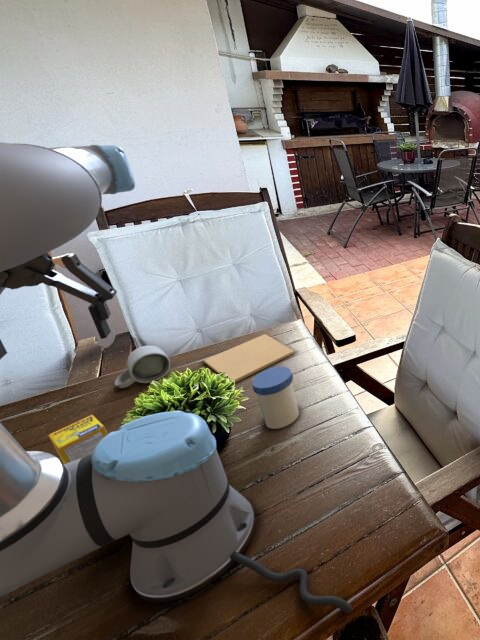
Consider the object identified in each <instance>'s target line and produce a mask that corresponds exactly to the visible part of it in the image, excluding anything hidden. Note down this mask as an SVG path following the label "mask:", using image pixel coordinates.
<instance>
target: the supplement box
mask: <svg viewBox="0 0 480 640" xmlns="http://www.w3.org/2000/svg"><path fill="white" fill-rule="evenodd" d="M108 434H109V433H108V431H107V428H106V427H105V426H104V424H103V423H101V422H100V421H99V420H98V419H97V417H96V416H95V415H93V414H90V415H88V416H86V417H84V418H82V419H79V420H78V421H77V420H76V421H75V422H73V423H71V424H69V425H66V426H64V427H63V428H59V429H58V430H56V431H54V432H51V433H50V434H48V437H49V441H51V443H52V446H53V447H54V449H55V451H56V453H57V454H58V457H59V458H60V461H61V463H62V464H63V465H64V464H67V463H69V462H72V461H75V460H78V459H80V458H83V457H86V456H89V455H91V454H93V451H94V449H95V447H96V446H97V444H98V443H99V442H100V441H101V440H102V439H103V438H104V437H106V436H107V435H108Z"/></svg>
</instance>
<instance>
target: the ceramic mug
mask: <svg viewBox="0 0 480 640" xmlns="http://www.w3.org/2000/svg"><path fill="white" fill-rule="evenodd" d="M126 365H127V369H125V370H124V371H123V372H121V373H120V374H119V375H118V376H117V378H115V381H114V385H115V386H116V387H117V388H119V389H125V388H128V387H130V386H131V385H133V384H134V383H136V382H137V383H140V384H151V383H152V382H151V381H153V380H157V381H159V380H161V379H162V378H165V376H166V375H167V374H168V373H169V371H170V369H171V359H170V358H169V356H168V355H167V354H166V353H165V352H164V350H162V348H160V347H159V346H155V345H142V346H140V347H137V348H136V349H134V350H133V351H132V352H130V353H129V355H128V357H127V361H126ZM129 376H130V377H129ZM128 377H129V378H128Z"/></svg>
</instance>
